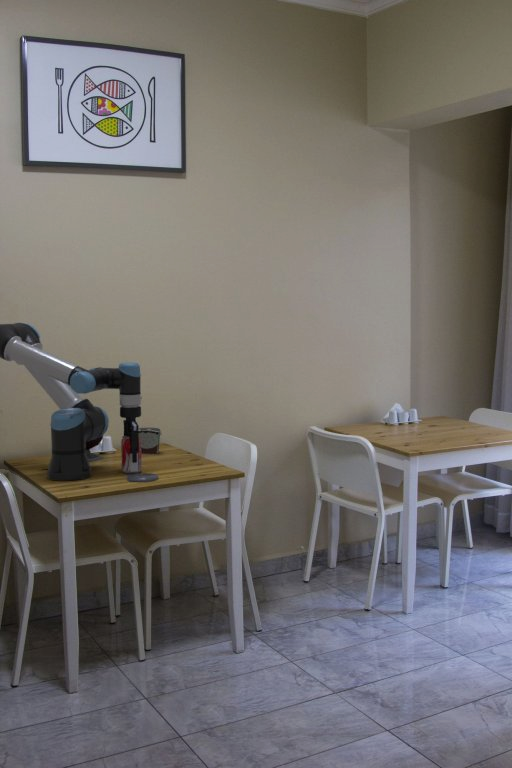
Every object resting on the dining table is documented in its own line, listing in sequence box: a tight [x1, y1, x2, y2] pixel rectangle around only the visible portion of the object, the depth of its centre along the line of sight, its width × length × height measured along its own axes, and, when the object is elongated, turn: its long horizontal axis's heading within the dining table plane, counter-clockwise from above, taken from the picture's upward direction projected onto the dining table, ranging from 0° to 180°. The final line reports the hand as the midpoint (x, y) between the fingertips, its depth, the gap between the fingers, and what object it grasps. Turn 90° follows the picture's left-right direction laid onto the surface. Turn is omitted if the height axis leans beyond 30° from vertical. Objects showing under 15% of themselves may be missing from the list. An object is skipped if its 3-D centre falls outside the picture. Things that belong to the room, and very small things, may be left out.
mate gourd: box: [85, 435, 104, 462], centre depth 331 cm, size 16×14×20 cm
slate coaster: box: [126, 472, 159, 483], centre depth 296 cm, size 11×11×1 cm
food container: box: [138, 426, 162, 456], centre depth 343 cm, size 12×6×10 cm, turn 72°
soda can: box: [120, 435, 143, 475], centre depth 306 cm, size 7×7×13 cm
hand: (131, 469), depth 307 cm, fingers closed on soda can, 7 cm apart
